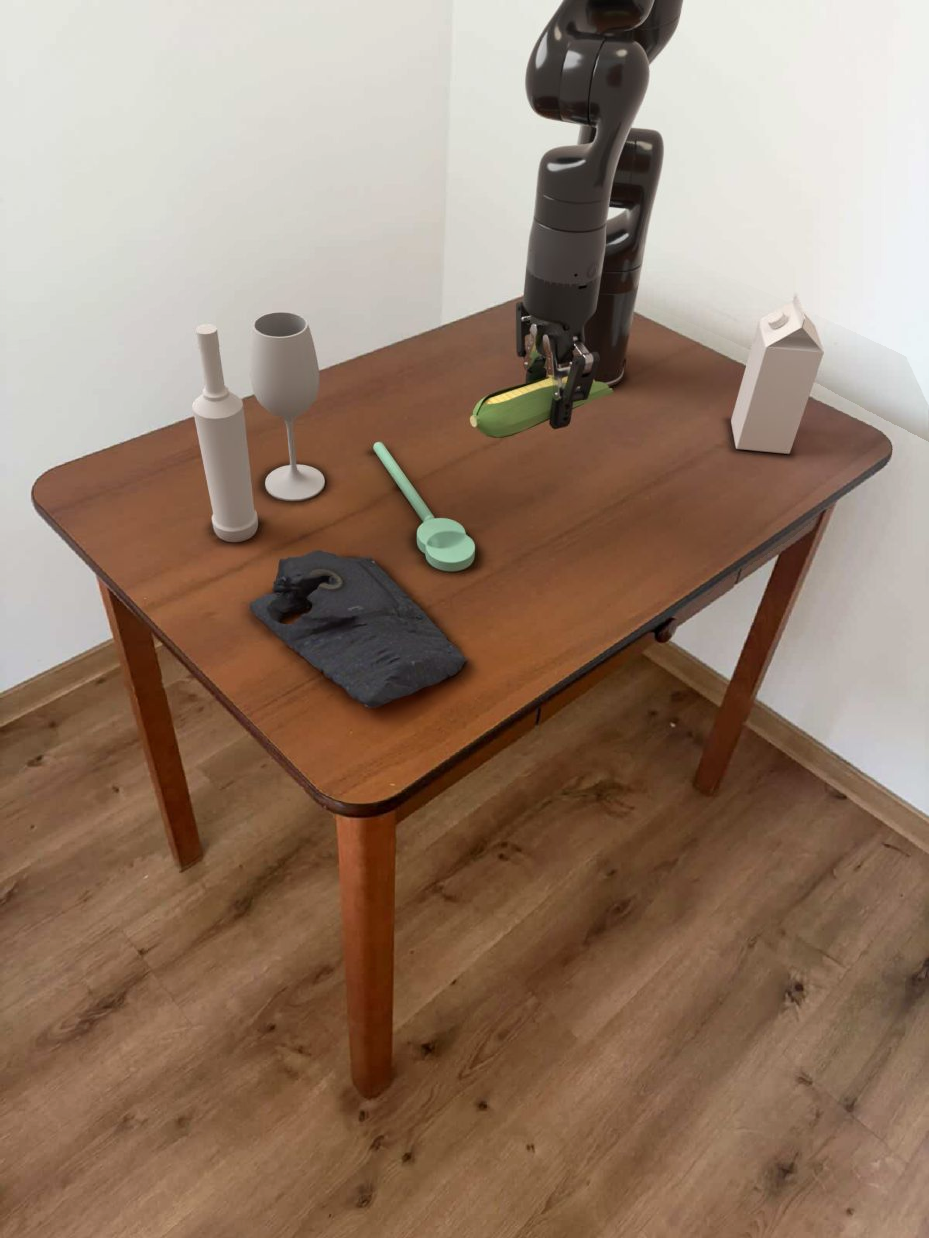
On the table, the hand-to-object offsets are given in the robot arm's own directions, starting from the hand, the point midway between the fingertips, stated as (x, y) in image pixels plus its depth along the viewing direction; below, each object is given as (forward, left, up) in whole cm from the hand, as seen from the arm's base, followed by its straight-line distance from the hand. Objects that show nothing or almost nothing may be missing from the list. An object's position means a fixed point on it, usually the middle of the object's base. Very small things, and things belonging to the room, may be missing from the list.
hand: (546, 412), depth 107 cm
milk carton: (-3, +36, -14) cm, 39 cm away
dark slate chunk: (+12, -27, -14) cm, 33 cm away
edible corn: (0, 0, -1) cm, 1 cm away
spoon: (-6, -13, -14) cm, 20 cm away
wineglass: (-16, -25, -14) cm, 33 cm away
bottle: (-10, -34, -14) cm, 38 cm away
